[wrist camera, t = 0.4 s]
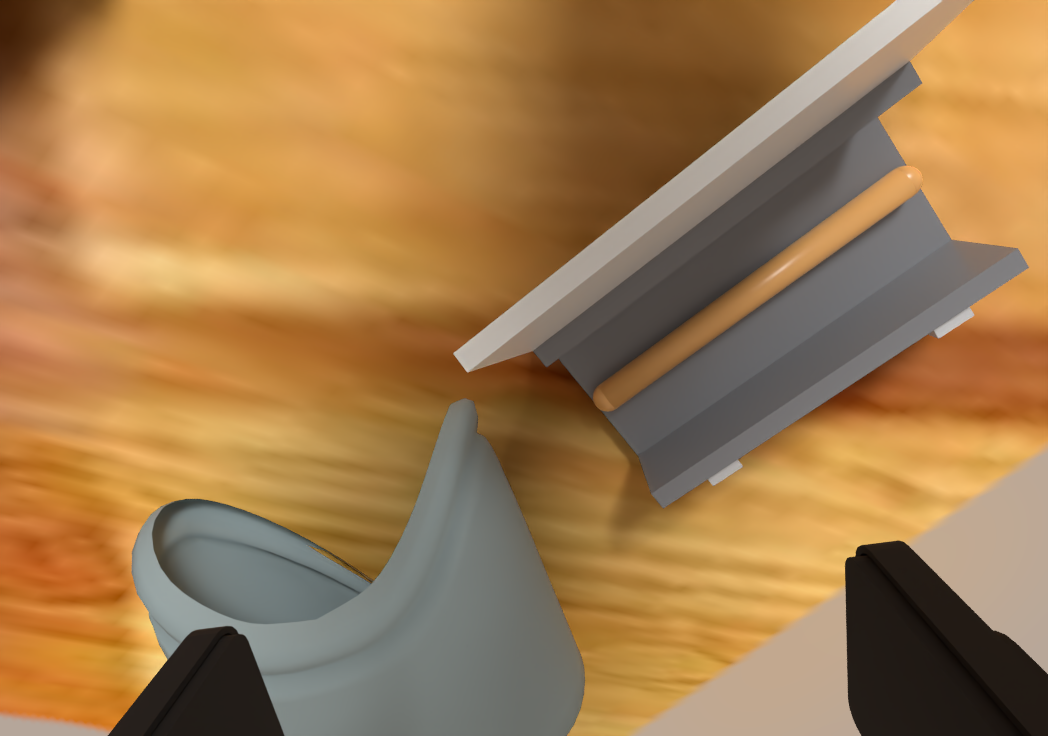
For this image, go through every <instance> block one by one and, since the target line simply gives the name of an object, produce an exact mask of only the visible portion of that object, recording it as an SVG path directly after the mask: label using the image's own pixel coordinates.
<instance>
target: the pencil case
mask: <svg viewBox="0 0 1048 736" xmlns="http://www.w3.org/2000/svg"><path fill="white" fill-rule="evenodd" d="M477 427H478V415H477V412H476V408H475V404H474V401H471V400H468V399H466V398H464V399H462V400H459V401H457V402H454V403H452V404H451V405H450V406H449V409H448V411H447V414H446V416H445V419H444V422H443V424H442V427H441V430H440V433H439V436H438V439H437V442H436V445H435V448H434V451H433V454H432V457H431V460H430V464H429V467H428V470H427V473H426V476H425V479H424V482H423V484H422V487H421V490H420V493H419V496H418V499H417V501H416V504H415V506H414V509H413V512H412V514H411V517H410V519H409V521H408V524H407V526H406V528H405V530H404V532H403V535H402V537H401V539H400V541H399V543H398V545H397V546H396V548H395V550H394V552H393V554H392V556H391V558H390V559H389V561H388V562H387V564H386V566H385V567H384V569H383V570H382V572H381V573H380V574H379V576H378V577H377V578H376V579H375V580H372V579H371V578H369V577H368V576H366V575H365V574H363V573H362V572H360V571H359V570H357V569H356V568H354V567H353V566H351V565H350V564H348V563H347V562H345V561H344V562H345V563H347V564H348V565H349V566H351V567H352V568H353V569H355V570H357V571H358V572H359V573H361V574H362V575H364V576H365V577H366V578H367V579H369V580H370V581H371V582H373V583H372V584H371V583H369V582H367V581H366V580H364V579H362V578H361V577H359V576H357V575H356V574H354V573H352V572H351V571H349V570H347V569H346V568H344V567H342V566H341V565H339V564H337V563H335V562H334V561H332V560H330V559H329V558H327V557H325V556H324V555H322V554H320V553H319V552H317V551H315V550H314V549H312V548H310V547H309V546H312V547H315V548H318V549H321V550H325V549H324V548H322V547H320V546H318V545H316V544H315V543H313V542H311V541H310V540H308V539H306V538H304V537H302V536H300V535H298V534H296V533H294V532H292V531H290V530H288V529H286V528H284V527H282V526H280V525H278V524H276V523H273V522H271V521H269V520H267V519H265V518H262V517H260V516H257V515H255V514H252V513H250V512H247V511H245V510H242V509H238V508H235V507H232V506H229V505H226V504H222V503H218V502H214V501H208V500H202V499H184V500H179V501H174V502H171V503H168V504H166V505H163V506H161V507H160V508H158V509H157V510H156V511H155V512H153V513H152V514H151V515H150V516H149V518H148V519H147V521H146V522H145V524H144V525H143V526H142V528H141V530H140V532H139V534H138V536H137V539H136V542H135V545H134V548H133V551H132V575H133V579H134V583H135V587H136V590H137V594H138V596H139V597H140V599H141V600H142V602H143V604H144V605H145V607H146V608H147V610H148V611H149V618H150V621H151V623H152V625H153V627H154V630H155V633H156V636H157V639H158V642H159V645H160V647H161V648H162V650H163V652H164V654H165V656H166V657H167V659H169V658H170V656H171V655H172V654H173V653H174V651H175V650H176V649H177V648H178V646H179V645H180V644H181V643H182V641H183V640H184V639H185V638H186V636H187V635H189V634H190V633H191V632H192V631H195V630H198V629H206V628H214V627H222V626H232V627H234V628H235V629H236V630H237V632H238V633H239V634H243V635H244V636H246V638H247V639H248V641H249V644H250V647H251V649H252V652H253V654H254V657H255V660H256V662H257V665H258V667H259V670H260V673H261V675H262V678H263V680H264V683H265V686H266V688H267V691H268V694H269V696H270V699H271V701H272V704H273V707H274V709H275V712H276V714H277V717H278V720H279V722H280V725H281V727H282V730H283V733H284V735H285V736H567V734H568V733H569V731H570V730H571V728H572V727H573V725H574V723H575V721H576V718H577V716H578V713H579V711H580V709H581V704H582V700H583V695H584V686H585V672H584V665H583V661H582V657H581V654H580V652H579V650H578V647H577V645H576V642H575V640H574V638H573V635H572V633H571V630H570V628H569V625H568V623H567V621H566V618H565V616H564V613H563V611H562V609H561V606H560V604H559V601H558V599H557V597H556V594H555V592H554V590H553V587H552V585H551V582H550V580H549V577H548V575H547V573H546V570H545V568H544V565H543V563H542V560H541V558H540V555H539V553H538V550H537V548H536V546H535V543H534V541H533V538H532V536H531V533H530V531H529V529H528V526H527V524H526V521H525V519H524V517H523V514H522V512H521V510H520V507H519V505H518V503H517V500H516V498H515V496H514V493H513V491H512V489H511V487H510V485H509V482H508V480H507V478H506V476H505V474H504V472H503V469H502V467H501V464H500V461H499V459H498V458H497V456H496V454H495V452H494V450H493V448H492V446H491V444H490V443H489V442H488V440H487V439H486V438H485V437H484V436H483V435H480V434H478V433H477ZM307 545H308V546H307ZM325 551H327V550H325ZM327 552H329V551H327ZM329 553H330V552H329ZM330 554H332V553H330ZM332 555H334V554H332ZM334 556H335V555H334ZM335 557H337V556H335ZM337 558H338V559H340V558H339V557H337ZM340 560H342V559H340ZM342 561H343V560H342Z"/></svg>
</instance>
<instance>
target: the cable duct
mask: <svg viewBox="0 0 1048 736" xmlns="http://www.w3.org/2000/svg"><path fill="white" fill-rule="evenodd" d="M921 84H922V82H921V80H920V78H919V76H918V75H917V73H916V71H915V69H914V68H913V66H912V64H911V62H910V61H909V62H908V63H907V64H905V65H904V66H903V67H901V68H900V69H899V70H897V71H896V72H895V73H894V74H892V75H891V76H890V77H888V78H887V79H886V80H884V81H883V82H882V83H881V84H879V85H878V86H877V87H875V88H874V89H873V90H871V91H870V92H869V93H868V94H866V95H865V96H864V97H862V98H861V99H860V100H858V101H857V102H856V103H855V104H853V105H852V106H851V107H849V108H848V109H847V110H845V111H844V112H843V113H842V114H840V115H839V116H838V117H836V118H835V119H834V120H832V121H831V122H830V123H829V124H827V125H826V126H825V127H823V128H822V129H821V130H819V131H818V132H817V133H816V134H814V135H813V136H812V137H810V138H809V139H808V140H806V141H805V142H804V143H803V144H801V145H800V146H799V147H797V148H796V149H795V150H793V151H792V152H791V153H790V154H788V155H787V156H786V157H784V158H783V159H782V160H780V161H779V162H778V163H777V164H775V165H774V166H773V167H771V168H770V169H769V170H767V171H766V172H765V173H764V174H762V175H761V176H760V177H758V178H757V179H756V180H754V181H753V182H752V183H751V184H749V185H748V186H747V187H745V188H744V189H743V190H741V191H740V192H739V193H738V194H736V195H735V196H734V197H732V198H731V199H730V200H728V201H727V202H726V203H725V204H723V205H722V206H721V207H719V208H718V209H717V210H715V211H714V212H713V213H712V214H710V215H709V216H708V217H706V218H705V219H704V220H702V221H701V222H700V223H699V224H697V225H696V226H695V227H693V228H692V229H691V230H689V231H688V232H687V233H686V234H684V235H683V236H682V237H680V238H679V239H678V240H676V241H675V242H674V243H673V244H671V245H670V246H669V247H667V248H666V249H665V250H663V251H662V252H661V253H660V254H658V255H657V256H656V257H654V258H653V259H652V260H650V261H649V262H648V263H647V264H645V265H644V266H643V267H641V268H640V269H639V270H637V271H636V272H635V273H634V274H632V275H631V276H630V277H628V278H627V279H626V280H624V281H623V282H622V283H621V284H619V285H618V286H617V287H615V288H614V289H613V290H611V291H610V292H609V293H608V294H606V295H605V296H604V297H602V298H601V299H600V300H598V301H597V302H596V303H595V304H593V305H592V306H591V307H589V308H588V309H587V310H585V311H584V312H583V313H582V314H580V315H579V316H578V317H576V318H575V319H574V320H572V321H571V322H570V323H569V324H567V325H566V326H565V327H563V328H562V329H561V330H559V331H558V332H557V333H556V334H554V335H553V336H552V337H550V338H549V339H548V340H546V341H545V342H544V343H543V344H541V345H540V346H539V347H537V348H536V349H535V350H533V352H534V353H535V354H536V355H537V357H538V358H539V359H540V360H541V361H542V363H543V364H544V365H545V366H546V367H548V366H549V365H551V364H552V363H553V362H555V361H556V360H557V359H559V360H560V361H561V362H562V364H563V365H564V366H565V367H566V369H567V370H568V371H569V372H570V373H571V375H572V376H573V377H574V378H575V380H576V381H577V382H578V383H579V384H580V386H581V387H582V388H583V389H584V391H585V392H586V393H587V394H588V395H589V397H590V398H591V399H592V400H593V402H594V404H595V405H596V407H597V408H599V409H600V410H601V411H602V412H603V414H604V415H605V416H606V417H607V419H608V420H609V421H610V422H611V423H612V425H613V426H614V427H615V428H616V430H617V431H618V432H619V433H620V434H621V436H622V437H623V438H624V439H625V441H626V442H627V443H628V444H629V445H630V447H631V448H632V449H633V450H634V452H635V453H636V454H637V455H638V457H639V460H640V463H641V466H642V469H643V472H644V475H645V478H646V480H647V483H648V486H649V489H650V492H651V494H652V495H653V497H654V498H655V499H656V500H657V502H658V503H659V504H660V505H661V506H662V508H665V507H666V506H668V505H669V504H671V503H672V502H674V501H676V500H677V499H679V498H680V497H682V496H683V495H685V494H686V493H688V492H689V491H691V490H692V489H694V488H695V487H697V486H698V485H700V484H701V483H703V482H704V481H706V480H707V479H708V480H709V481H710V483H711V484H712V485H713V486H714V485H716V484H717V483H719V482H721V481H722V480H724V479H725V478H727V477H728V476H730V475H731V474H733V473H734V472H736V471H737V470H739V469H740V468H742V467H743V466H742V464H741V463H740V462H739V460H738V459H739V458H741V457H742V456H744V455H745V454H747V453H748V452H750V451H751V450H753V449H754V448H756V447H757V446H759V445H760V444H762V443H763V442H765V441H767V440H768V439H770V438H771V437H773V436H774V435H776V434H777V433H779V432H780V431H782V430H783V429H785V428H786V427H788V426H789V425H791V424H792V423H794V422H795V421H797V420H798V419H800V418H801V417H803V416H804V415H806V414H807V413H809V412H811V411H812V410H814V409H815V408H817V407H818V406H820V405H821V404H823V403H824V402H826V401H827V400H829V399H830V398H832V397H833V396H835V395H836V394H838V393H839V392H841V391H842V390H844V389H845V388H847V387H848V386H850V385H851V384H853V383H855V382H856V381H858V380H859V379H861V378H862V377H864V376H865V375H867V374H868V373H870V372H871V371H873V370H874V369H876V368H877V367H879V366H880V365H882V364H883V363H885V362H886V361H888V360H889V359H891V358H892V357H894V356H895V355H897V354H898V353H900V352H902V351H903V350H905V349H906V348H908V347H909V346H911V345H912V344H914V343H915V342H917V341H918V340H920V339H921V338H923V337H924V336H926V335H927V334H928V335H931V336H933V337H936V338H938V339H939V338H940V337H942V336H943V335H945V334H947V333H948V332H950V331H951V330H953V329H954V328H956V327H957V326H959V325H960V324H962V323H963V322H965V321H966V320H968V319H969V318H971V317H972V316H974V314H973V312H972V310H971V309H970V306H971V305H973V304H974V303H976V302H977V301H979V300H980V299H982V298H983V297H985V296H986V295H988V294H990V293H991V292H993V291H994V290H996V289H997V288H999V287H1000V286H1002V285H1003V284H1005V283H1006V282H1008V281H1009V280H1011V279H1012V278H1014V277H1015V276H1017V275H1018V274H1020V273H1021V272H1023V271H1024V270H1026V269H1027V268H1029V267H1028V265H1027V263H1026V262H1025V260H1024V258H1023V256H1022V255H1021V253H1020V251H1019V250H1018V248H1011V247H1003V246H995V245H987V244H980V243H972V242H964V241H957V240H951V238H950V237H949V235H948V233H947V232H946V230H945V228H944V227H943V225H942V223H941V222H940V220H939V218H938V217H937V215H936V213H935V212H934V210H933V208H932V207H931V205H930V204H929V202H928V200H927V199H926V197H925V195H924V194H923V192H922V190H921V187H922V183H923V177H922V174H921V172H920V171H919V170H918V169H916V168H915V167H912V166H907V165H906V164H905V162H904V160H903V159H902V157H901V156H900V154H899V152H898V151H897V149H896V147H895V146H894V144H893V142H892V141H891V139H890V137H889V136H888V134H887V132H886V131H885V129H884V127H883V126H882V124H881V122H880V121H879V119H878V116H880V115H881V114H882V113H884V112H885V111H886V110H888V109H889V108H890V107H891V106H893V105H894V104H895V103H897V102H898V101H899V100H901V99H902V98H903V97H905V96H906V95H907V94H909V93H910V92H911V91H913V90H914V89H915V88H917V87H918V86H919V85H921Z"/></svg>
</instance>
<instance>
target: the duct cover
mask: <svg viewBox="0 0 1048 736" xmlns="http://www.w3.org/2000/svg"><path fill="white" fill-rule="evenodd" d="M973 1H974V0H896V1H895V2H894V3H892V4H891V5H890V6H889V7H887V8H886V9H885V10H884V11H882V12H881V13H880V14H879V15H877V16H876V17H875V18H874V19H872V20H871V21H870V22H869V23H867V24H866V25H865V26H864V27H862V28H861V29H860V30H859V31H857V32H856V33H855V34H854V35H852V36H851V37H850V38H848V39H847V40H846V41H845V42H843V43H842V44H841V45H840V46H838V47H837V48H836V49H835V50H833V51H832V52H831V53H830V54H828V55H827V56H826V57H825V58H823V59H822V60H821V61H820V62H818V63H817V64H816V65H815V66H813V67H812V68H811V69H810V70H808V71H807V72H806V73H805V74H803V75H802V76H801V77H800V78H798V79H797V80H796V81H795V82H793V83H792V84H791V85H789V86H788V87H787V88H786V89H784V90H783V91H782V92H781V93H779V94H778V95H777V96H776V97H774V98H773V99H772V100H771V101H769V102H768V103H767V104H766V105H764V106H763V107H762V108H761V109H759V110H758V111H757V112H756V113H754V114H753V115H752V116H751V117H749V118H748V119H747V120H746V121H744V122H743V123H742V124H741V125H739V126H738V127H737V128H736V129H734V130H733V131H732V132H730V133H729V134H728V135H727V136H725V137H724V138H723V139H722V140H720V141H719V142H718V143H717V144H715V145H714V146H713V147H712V148H710V149H709V150H708V151H707V152H705V153H704V154H703V155H702V156H700V157H699V158H698V159H697V160H695V161H694V162H693V163H692V164H690V165H689V166H688V167H687V168H685V169H684V170H683V171H682V172H680V173H679V174H678V175H677V176H675V177H674V178H673V179H671V180H670V181H669V182H668V183H666V184H665V185H664V186H663V187H661V188H660V189H659V190H658V191H656V192H655V193H654V194H653V195H651V196H650V197H649V198H648V199H646V200H645V201H644V202H643V203H641V204H640V205H639V206H638V207H636V208H635V209H634V210H633V211H631V212H630V213H629V214H628V215H626V216H625V217H624V218H623V219H621V220H620V221H619V222H617V223H616V224H615V225H614V226H612V227H611V228H610V229H609V230H607V231H606V232H605V233H604V234H602V235H601V236H600V237H599V238H597V239H596V240H595V241H594V242H592V243H591V244H590V245H589V246H587V247H586V248H585V249H584V250H582V251H581V252H580V253H579V254H577V255H576V256H575V257H574V258H572V259H571V260H570V261H569V262H567V263H566V264H565V265H564V266H562V267H561V268H560V269H558V270H557V271H556V272H555V273H553V274H552V275H551V276H550V277H548V278H547V279H546V280H545V281H543V282H542V283H541V284H540V285H538V286H537V287H536V288H535V289H533V290H532V291H531V292H530V293H528V294H527V295H526V296H525V297H523V298H522V299H521V300H520V301H518V302H517V303H516V304H515V305H513V306H512V307H511V308H510V309H508V310H507V311H506V312H505V313H503V314H502V315H501V316H499V317H498V318H497V319H496V320H494V321H493V322H492V323H491V324H489V325H488V326H487V327H486V328H484V329H483V330H482V331H481V332H479V333H478V334H477V335H476V336H474V337H473V338H472V339H471V340H469V341H468V342H467V343H466V344H464V345H463V346H462V347H461V348H459V349H458V350H457V351H456V352H454V353H453V354H454V355H455V357H456V358H457V359H458V361H459V362H460V363H461V365H462V366H463V367H464V369H465V370H466V371H467V373H468V372H471V371H474V370H477V369H480V368H483V367H486V366H489V365H492V364H495V363H498V362H501V361H504V360H507V359H510V358H513V357H516V356H519V355H522V354H525V353H528V352H531V351H533V350H535V349H536V348H537V347H539V346H540V345H541V344H543V343H544V342H545V341H546V340H548V339H549V338H550V337H552V336H553V335H554V334H556V333H557V332H558V331H559V330H561V329H562V328H563V327H565V326H566V325H567V324H569V323H570V322H571V321H572V320H574V319H575V318H576V317H578V316H579V315H580V314H582V313H583V312H584V311H585V310H587V309H588V308H589V307H591V306H592V305H593V304H595V303H596V302H597V301H598V300H600V299H601V298H602V297H604V296H605V295H606V294H608V293H609V292H610V291H611V290H613V289H614V288H615V287H617V286H618V285H619V284H621V283H622V282H623V281H624V280H626V279H627V278H628V277H630V276H631V275H632V274H634V273H635V272H636V271H637V270H639V269H640V268H641V267H643V266H644V265H645V264H647V263H648V262H649V261H650V260H652V259H653V258H654V257H656V256H657V255H658V254H660V253H661V252H662V251H663V250H665V249H666V248H667V247H669V246H670V245H671V244H673V243H674V242H675V241H676V240H678V239H679V238H680V237H682V236H683V235H684V234H686V233H687V232H688V231H689V230H691V229H692V228H693V227H695V226H696V225H697V224H699V223H700V222H701V221H702V220H704V219H705V218H706V217H708V216H709V215H710V214H712V213H713V212H714V211H715V210H717V209H718V208H719V207H721V206H722V205H723V204H725V203H726V202H727V201H728V200H730V199H731V198H732V197H734V196H735V195H736V194H738V193H739V192H740V191H741V190H743V189H744V188H745V187H747V186H748V185H749V184H751V183H752V182H753V181H754V180H756V179H757V178H758V177H760V176H761V175H762V174H764V173H765V172H766V171H767V170H769V169H770V168H771V167H773V166H774V165H775V164H777V163H778V162H779V161H780V160H782V159H783V158H784V157H786V156H787V155H788V154H790V153H791V152H792V151H793V150H795V149H796V148H797V147H799V146H800V145H801V144H803V143H804V142H805V141H806V140H808V139H809V138H810V137H812V136H813V135H814V134H816V133H817V132H818V131H819V130H821V129H822V128H823V127H825V126H826V125H827V124H829V123H830V122H831V121H832V120H834V119H835V118H836V117H838V116H839V115H840V114H842V113H843V112H844V111H845V110H847V109H848V108H849V107H851V106H852V105H853V104H855V103H856V102H857V101H858V100H860V99H861V98H862V97H864V96H865V95H866V94H868V93H869V92H870V91H871V90H873V89H874V88H875V87H877V86H878V85H879V84H881V83H882V82H883V81H884V80H886V79H887V78H888V77H890V76H891V75H892V74H894V73H895V72H896V71H897V70H899V69H900V68H901V67H903V66H904V65H905V64H907V63H908V62H909V61H910V60H912V59H913V58H914V57H915V56H916V55H917V54H918V53H919V52H920V51H921V50H922V49H923V48H924V47H925V46H926V45H927V44H928V43H929V42H931V41H932V40H933V39H934V38H935V37H936V36H937V35H938V34H939V33H940V32H941V31H942V30H943V29H944V28H945V27H946V26H947V25H948V24H949V23H951V22H952V21H953V20H954V19H955V18H956V17H957V16H958V15H959V14H960V13H961V12H962V11H963V10H964V9H965V8H966V7H967V6H968V5H969V4H971V3H972V2H973Z"/></svg>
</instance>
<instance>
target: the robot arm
mask: <svg viewBox="0 0 1048 736" xmlns="http://www.w3.org/2000/svg"><path fill="white" fill-rule="evenodd" d="M845 581H846V624H847V625H846V626H847V670H848V700H849V706H850V711H851V714H852V717H853V719H854V722H855V724H856V726H857V728H858V730H859V732H860V734H861V736H1048V674H1047V673H1046V672H1045V671H1044V670H1043V669H1042V668H1041V667H1040V666H1039V665H1038V664H1037V663H1036V662H1035V661H1034V660H1033V659H1032V658H1031V657H1030V656H1029V655H1028V654H1026V652H1025V651H1024V650H1023V649H1021V647H1020V646H1019V645H1017V644H1016V643H1015V642H1014V641H1013V640H1011V639H1010V638H1009V637H1008V636H1006V635H1005V634H1002V633H1000V632H997V631H993V630H992V629H991V628H990V627H989V626H988V625H987V624H986V623H985V622H984V621H983V620H982V619H981V618H980V617H979V616H978V615H977V614H976V613H975V612H974V611H973V610H972V609H971V608H970V607H969V606H968V605H967V604H966V603H965V602H964V601H963V600H962V599H961V598H960V597H959V596H958V595H957V594H956V593H955V592H954V591H953V590H952V589H951V588H950V587H949V586H948V585H947V584H946V583H945V582H944V581H943V580H942V579H941V578H940V577H939V576H938V575H937V574H936V573H935V572H934V571H933V570H932V569H931V568H930V567H929V566H928V565H927V564H926V563H925V562H924V561H923V560H922V559H921V558H920V557H919V556H918V555H917V554H916V553H915V552H914V551H913V550H912V549H911V548H910V547H909V546H908V545H907V544H906V543H904V542H902V541H892V542H884V543H876V544H868V545H861V546H859V547H858V548H857V550H856V557H849V558H847V560H846V563H845ZM108 736H285V735H284V733H283V730H282V727H281V725H280V722H279V720H278V717H277V714H276V712H275V709H274V707H273V704H272V701H271V699H270V696H269V694H268V691H267V688H266V686H265V683H264V680H263V678H262V675H261V673H260V670H259V667H258V665H257V662H256V660H255V657H254V654H253V652H252V649H251V647H250V644H249V641H248V639H247V638H246V636H244V635H243V634H239V633H238V632H237V630H236V629H235V628H234V627H232V626H222V627H214V628H206V629H198V630H195V631H192V632H191V633H190V634H189V635H187V636H186V638H185V639H184V640H183V641H182V643H181V644H180V645H179V646H178V648H177V649H176V650H175V651H174V653H173V654H172V655H171V656H170V658H169V659H168V660H167V662H166V663H165V664H164V665H163V667H162V668H161V669H160V670H159V672H158V673H157V674H156V675H155V677H154V678H153V679H152V680H151V682H150V683H149V684H148V686H147V687H146V688H145V689H144V691H143V692H142V693H141V694H140V696H139V697H138V698H137V699H136V701H135V702H134V703H133V704H132V706H131V707H130V708H129V710H128V711H127V712H126V713H125V715H124V716H123V717H122V718H121V720H120V721H119V722H118V723H117V725H116V726H115V727H114V728H113V730H112V731H111V732H110V734H109V735H108Z"/></svg>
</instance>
